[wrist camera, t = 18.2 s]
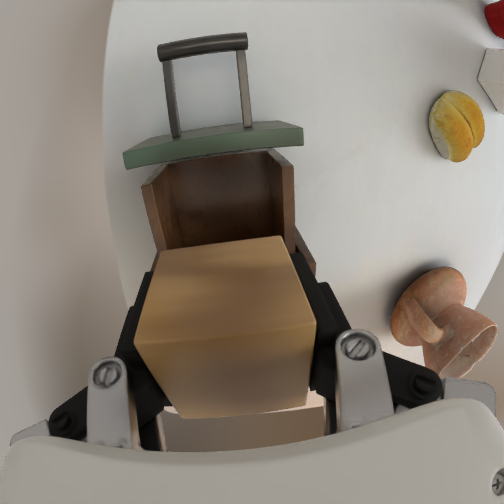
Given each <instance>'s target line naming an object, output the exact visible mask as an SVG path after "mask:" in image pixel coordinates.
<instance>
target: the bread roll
mask: <svg viewBox="0 0 504 504" xmlns="http://www.w3.org/2000/svg"><path fill="white" fill-rule="evenodd" d="M429 129H430V132H431V135H432V138H433V141H434V143H435V145H436V147H437V149H438V151H439V153H440V154H441V155H442V156H443V157H444V158H446V159H449V160H451V161H453V162H461V161H463V160H465V159H466V158H467V157H468V156H469V154H470V152H471V150H472V148H475V147H477V146H478V145H479V144H480V143H481V141H482V139H483V137H484V129H485V126H484V119H483V115H482V112H481V110H480V108H479V106H478V105H477V103H476V102H475V101H474V100H473V99H472V98H471V97H469V96H468V95H466V94H464V93H462V92H459V91H448V92H445V93H444V94H443V95H442V96H441V98H439V99H438V100H437V101H436V102H435V103H434V105H433V107H432V109H431V112H430V117H429Z"/></svg>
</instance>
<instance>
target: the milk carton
mask: <svg viewBox="0 0 504 504" xmlns="http://www.w3.org/2000/svg"><path fill="white" fill-rule="evenodd" d="M478 81H479V83H480V84H481V85H482V87H483V88H484V90H485V91H486V93H487V94H488V96H489V97H490V99H491V100H492V102H493V104H494V105H495V107H496V109H497V110H498V112H499V113H501V114H504V49H490V48H487V50H486V53H485V57H484V60H483V63H482V66H481V70H480V73H479V76H478Z"/></svg>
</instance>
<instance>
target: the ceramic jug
mask: <svg viewBox="0 0 504 504" xmlns="http://www.w3.org/2000/svg"><path fill="white" fill-rule="evenodd" d="M465 298H466V282H465V279H464V277H463V275H462V274H461V273H460V272H459V271H458V270H456V269H454V268H451V267H439V268H435V269H433V270H430V271H429V272H427V273H425V274H423V275H422V276H420V277H419V278H418V279H416V280H415V281H414V282H413V283H412V284H411V285H410V286H409V287H408V288H407V289H406V290H405V291H404V292H403V294H402V295H401V296H400V298H399V300H398V301H397V303H396V305H395V307H394V310H393V312H392V316H391V322H390V326H391V331H392V334H393V336H394V338H395V339H396V340H397V341H398V342H399V343H401V344H403V345H406V346H420V345H422V347H423V356H424V362H425V367H426V368H429V369H431V370H433V371H435V372H436V373H437V374H438V375H439V377H440V378H441V379H444V378H445V376H447V377H453V378H459V379H460V378H461V377H463V376H464V375H465V374H467V373H468V372H469V371H470V370H471V369H472V368H473V365H474V364H475V363H477V362H479V361H480V360H481V359H482V358H483V357H484V356H485V355H486V354H487V352H488V350H489V349H490V348H491V347H492V345H493V343H494V341H495V339H496V336H497V334H498V326H497V325H496V324H495V323H494V322H493V321H492V320H490V319H489V318H487V317H486V316H484V315H482V314H480V313H478V312H476V311H474V310H472V309H470V308H467V307H465V306H464V302H465ZM480 333H481V334H480ZM479 334H480V335H479ZM477 335H479V336H478V337H477V338H476V339H475V340H474V341H473V342H472V340H473V339H474V338H475V337H476V336H477Z"/></svg>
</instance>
